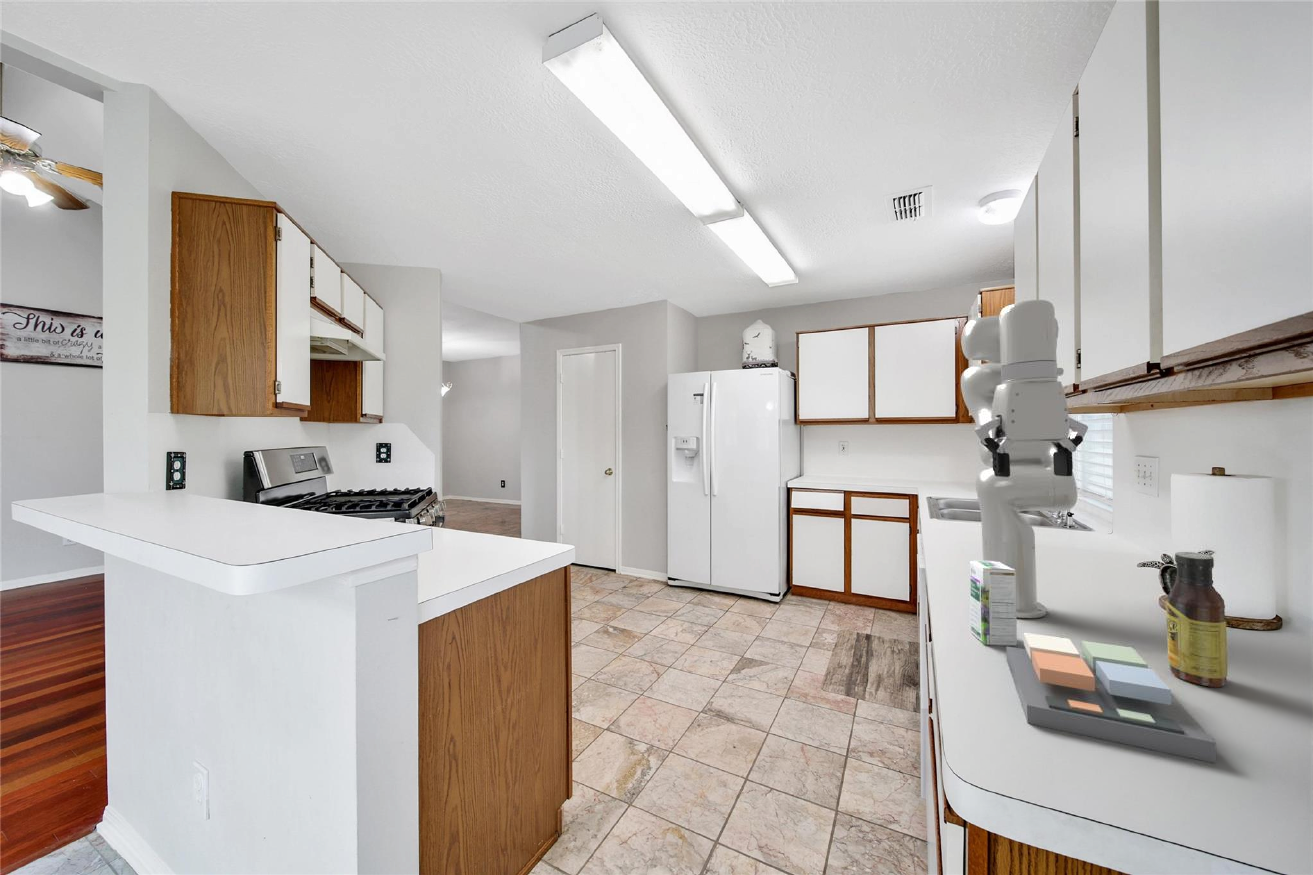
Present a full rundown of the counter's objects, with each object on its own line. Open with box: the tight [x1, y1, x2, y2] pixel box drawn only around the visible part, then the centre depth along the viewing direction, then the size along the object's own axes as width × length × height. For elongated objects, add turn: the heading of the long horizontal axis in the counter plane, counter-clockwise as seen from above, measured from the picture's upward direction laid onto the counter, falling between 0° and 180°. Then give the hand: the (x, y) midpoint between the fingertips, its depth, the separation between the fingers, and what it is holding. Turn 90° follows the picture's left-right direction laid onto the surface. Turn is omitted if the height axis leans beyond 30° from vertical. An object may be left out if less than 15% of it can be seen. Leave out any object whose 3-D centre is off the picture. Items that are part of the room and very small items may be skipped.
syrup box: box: [969, 560, 1018, 647], centre depth 92 cm, size 6×6×14 cm
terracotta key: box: [1032, 651, 1095, 691], centre depth 70 cm, size 6×6×2 cm
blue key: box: [1096, 661, 1172, 705], centre depth 66 cm, size 6×6×2 cm
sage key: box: [1081, 640, 1149, 670], centre depth 73 cm, size 6×6×2 cm
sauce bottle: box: [1165, 551, 1228, 688], centre depth 75 cm, size 7×6×20 cm
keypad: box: [1005, 645, 1217, 764], centre depth 70 cm, size 20×18×3 cm
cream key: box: [1023, 632, 1081, 660], centre depth 77 cm, size 6×6×2 cm
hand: (1032, 476), depth 81 cm, fingers open, 9 cm apart
